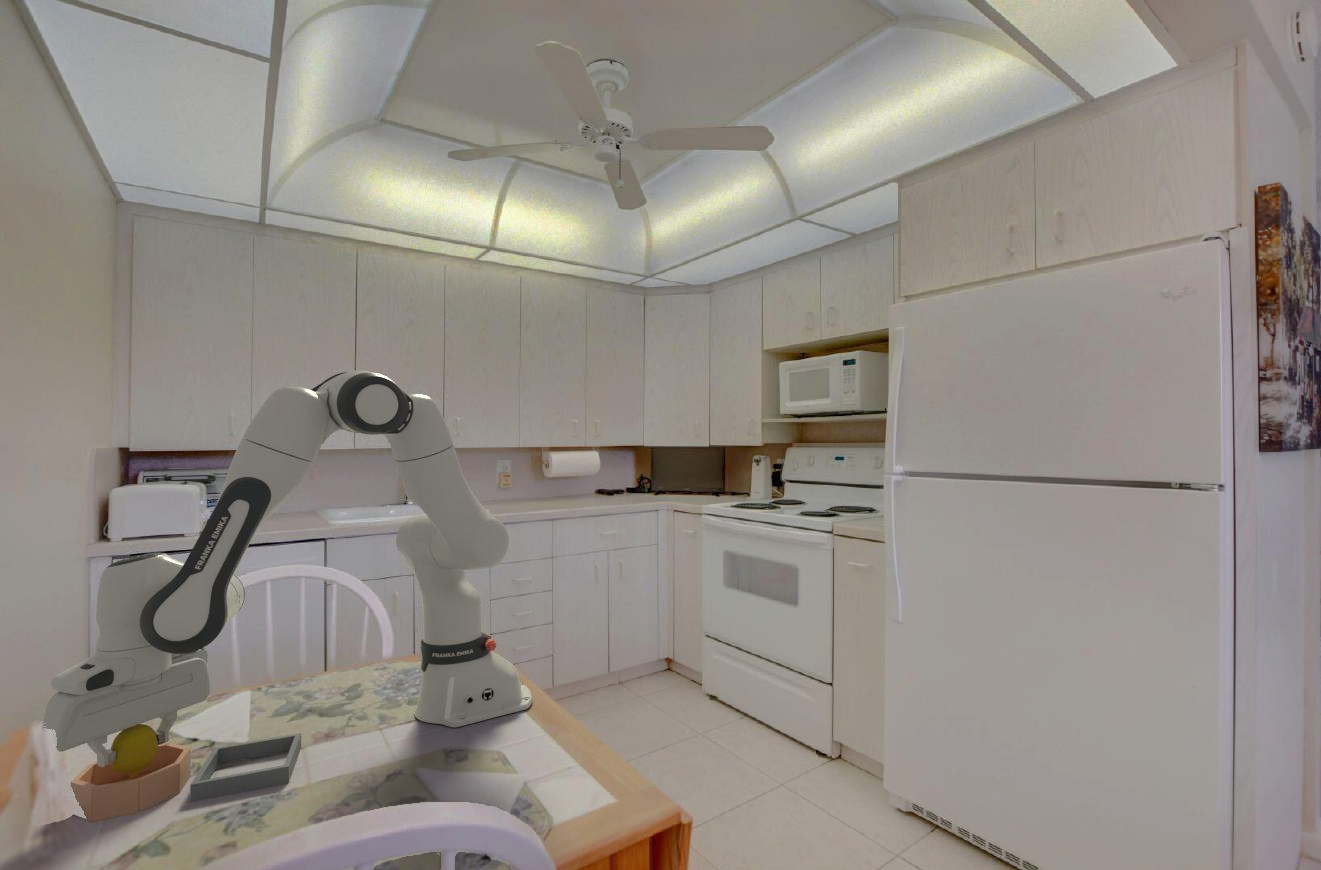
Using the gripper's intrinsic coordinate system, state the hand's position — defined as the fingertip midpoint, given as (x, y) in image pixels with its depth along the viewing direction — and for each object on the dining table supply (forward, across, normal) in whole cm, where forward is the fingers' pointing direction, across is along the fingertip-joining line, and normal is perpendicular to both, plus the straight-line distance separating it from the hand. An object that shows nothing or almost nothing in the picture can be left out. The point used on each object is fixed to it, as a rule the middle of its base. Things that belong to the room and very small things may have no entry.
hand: (134, 753), depth 93 cm
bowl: (+6, 0, 0) cm, 6 cm away
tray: (+6, -11, +10) cm, 16 cm away
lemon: (+4, 0, 0) cm, 4 cm away
